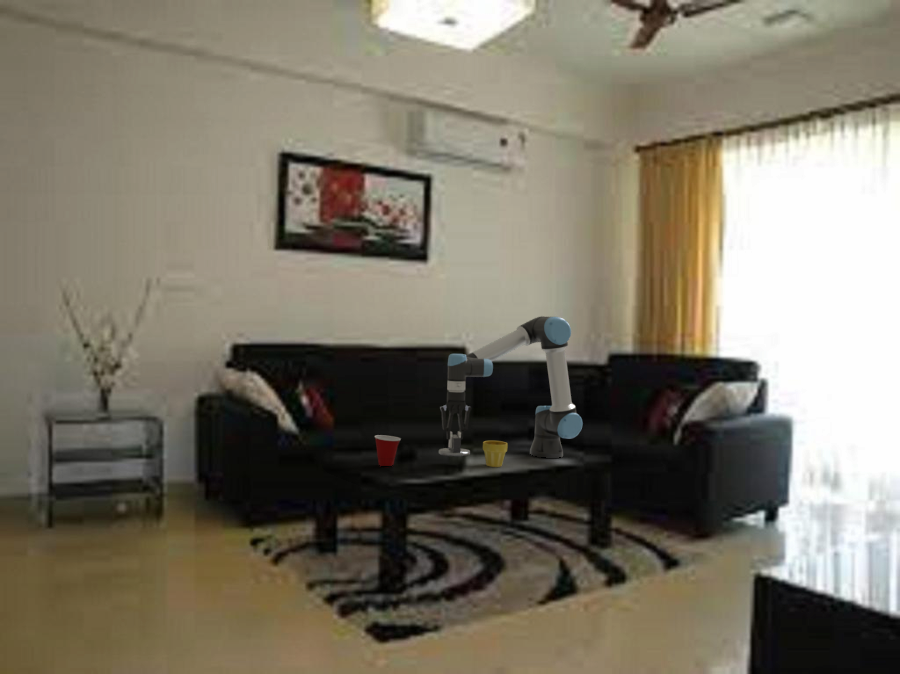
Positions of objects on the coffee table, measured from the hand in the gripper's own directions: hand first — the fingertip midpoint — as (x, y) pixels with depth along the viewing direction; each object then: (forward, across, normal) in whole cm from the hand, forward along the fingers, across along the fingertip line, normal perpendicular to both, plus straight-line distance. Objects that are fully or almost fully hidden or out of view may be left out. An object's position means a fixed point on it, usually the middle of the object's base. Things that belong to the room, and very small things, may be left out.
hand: (454, 447), depth 334 cm
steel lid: (+3, 0, 0) cm, 3 cm away
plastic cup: (+7, -29, -1) cm, 30 cm away
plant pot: (+8, +17, 0) cm, 19 cm away
